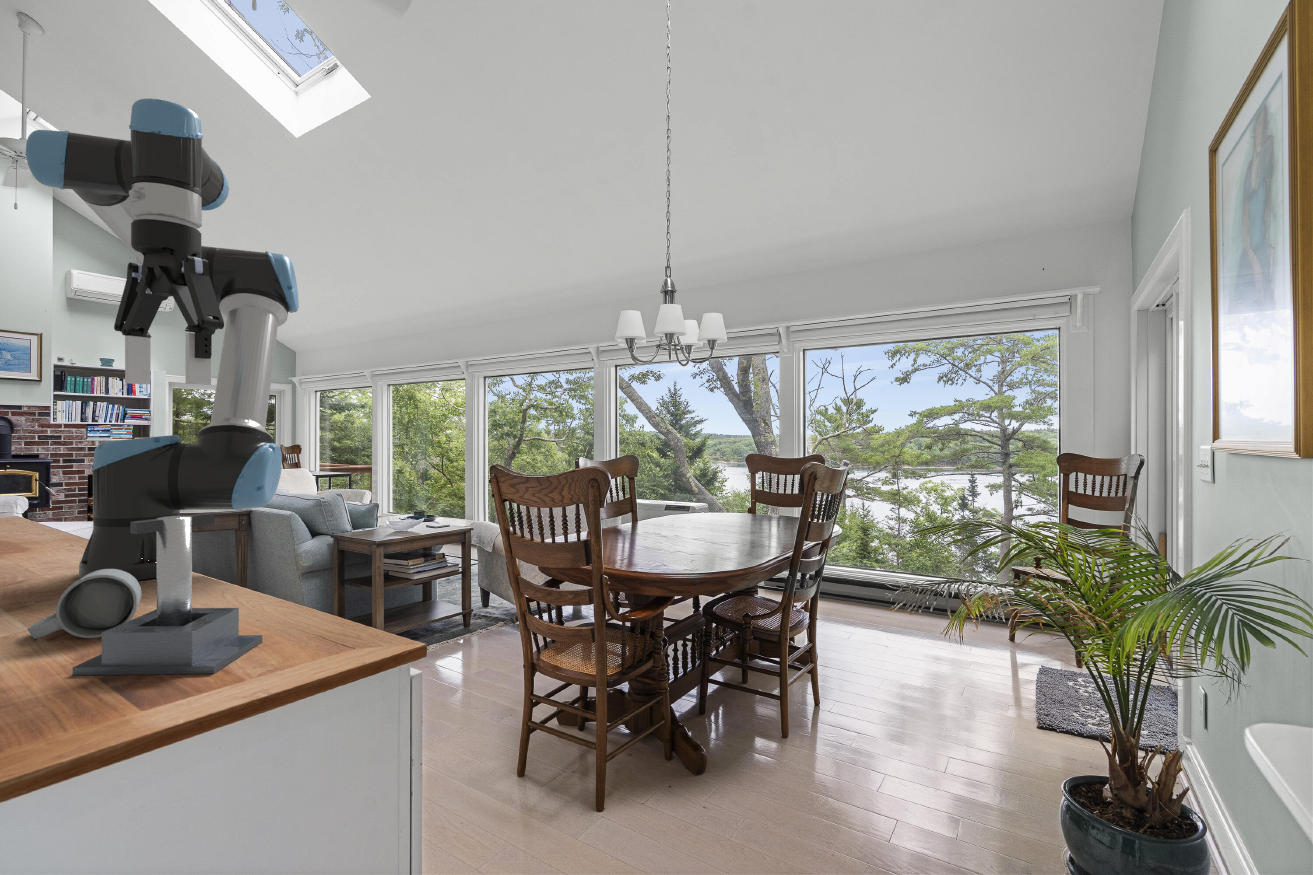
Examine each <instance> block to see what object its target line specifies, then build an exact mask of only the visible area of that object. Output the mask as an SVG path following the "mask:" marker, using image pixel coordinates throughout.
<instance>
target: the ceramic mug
mask: <svg viewBox="0 0 1313 875" xmlns="http://www.w3.org/2000/svg"><path fill="white" fill-rule="evenodd" d="M141 599H142V589H141V585H140V583H139V580H136V579H135V578H134V577H133V576H132V575H131V574H129V573H127V572H125V571H122V570H118V569H102V570H97V571H94V572H92V573H90V574H87V575H85V576H84V577H82V578H81V579H80V578H79V579H77V580H76V581H74V582H73V583H72V584H70V586H68V587H67V588H66V589H65V590H64V591H63V592H62V594H61V595H60V596H59V598H58V601H57V603H56V606H55V607H56V608H55V612H54V613H51V614H50V615H48V616H46V617H44V618H42V619H40V620H38V621H36V622H34V623H33V624H31V625H29V627H27V632H28V633H29V634H30V635H31V637H32V639H34V640H35V639H40V638H42V637H46V636H48V635H51V634H53V633H56V632H58V631H60V630H62V629H63V630H64V631H65V632H66V633H68V634H69V635H72V636H74V637H77V638H81V639H98V638H102V632H105V631H107V630H109V629H112V628H114V627H116V626H119V625H121V624H123V623H126V622H128V621H130V620H133V619H134V616H135V614H136V611H137V609H138V606H139V604H140V602H141Z"/></svg>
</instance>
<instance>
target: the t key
mask: <svg viewBox="0 0 1313 875" xmlns="http://www.w3.org/2000/svg"><path fill="white" fill-rule="evenodd" d="M215 516H216V515H215V513H212V512H211V513H210V512H206V513H198V514H190V515H189V514H188V515H180V516H167V517H160V518H157V519H152V520H144V521H135V522H130V533H133V534H142V533H149V532H157V578H156V609H157V626H185V625H187V624H189V623H191V622H192V608H193V531H192V530H193V527H202V526H208V525H215V524H216V523H215V522H216V521H215Z"/></svg>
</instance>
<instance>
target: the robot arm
mask: <svg viewBox="0 0 1313 875" xmlns="http://www.w3.org/2000/svg"><path fill="white" fill-rule="evenodd" d="M130 113H131V114H130V124H129V125H128V127H129V130H130V140H128V139H127V140H126V139H120V138H112V137H104V136H97V135H90V134H83V133H76V132H70V131H69V130H62V131H61V130H52V129H50V130H49V129H36V130H34V131H32V132H31V133H29V135H28V136H27V140H26V145H25V156H26V161H27V165H28V169H29V170H30V172H31V174H32V176H33V177H34V179H35V180H36V181H37V182H38V183H40V184H42V185H44V186H46V187H47V186H48V187H53V188H57V189H60V190H71V191H73V192H74V193H75V194H76V195H77V196H78V197H79V198H80V199H81V200H82V201H83V202H84V203H85V204H86V205H87V206H88V207H89V208H90V209H91V210H92V211H93V212H94V214H95V215H96V216H97V217H98V218H99V219H100V220H101V221H102V222H103V223H104V224H105V225H106V226H107V228H109V229H110V230H111V231H112V233H114V234H115V236H116V237H117V238H118V239H119V240H120V241H121V242H122V243H123V244H124V245H125V246H126V248H128V250H130V251H131V253H132V254H134V256H135V259H136V263H135V262H128V264H127V270H126V271H127V272H126V281H125V284H124V288H123V292H122V295H121V300H120V303H119V306H118V310H117V314H116V317H115V318H116V319H115V320H114V325H113V329H114V331H115V332H121V334H122V336H124V349H125V350H124V351H125V352H124V357H125V358H124V374H125V375H124V383H125V384H133V385H151V338H152V336H151V333H150V332H149V329H150V328H151V326H152V324H153V322H154V320H155V317H156V315H157V313H158V311H159V308H160V307H161V305H162V303H163V301H167V300H168V299H169V297H173V300H174V302H175V303H176V305H177V308H178V309H179V311H180V312H181V315H182V316H183V319H184V320H185V322H186V324H187V326H186V328H185V329H184V331H185V384H186V385H202V386H212V350H213V349H212V347H213V346H212V341H213V340H212V336H213V335H214V334H215V333H216V330H223V329H224V327H225V329H224V335H223V342H222V348H221V354H220V361H219V366H218V373H217V379H216V386H215V392H214V399H213V405H212V406H213V407H212V412H211V418H210V423H209V424H207V425H206V426H203V427H202V428H200V429H199V431H198V434H197V441H196V442H195V443H194V442H192V443H191V442H190V443H189V442H188V443H187V442H185V443H183V442H182V439H181V437H180V435H178V434H171V435H169V434H168V435H164V436H151V437H140V438H138V437H137V438H130V439H129V438H128V439H117V440H110V441H104V442H101V443H100V444H98V445H97V446H96V447H95V448H94V452H93V464H92V465H93V466H92V468H91V472H92V518H93V519H92V521H93V522H92V532H91V535H90V537H89V540H88V542H87V544H86V547H85V550H84V552H83V554H82V557H81V560H80V562H79V565H78V578H79V580H80V579H81V578H82V577H84V576H85V575H87V574H90V573H92V572H94V571H97V570H102V569H118V570H122V571H125V572H127V573H129V574H131V575H132V576H133V577H134V578H135V579H136V580H137V581H140V580H141V581H143V580H149V579H150V580H151V579H155V578H156V579H157V563H155V562H157V532H149V533H142V534H133V533H130V522H135V521H144V520H152V519H157V518H160V517H167V516H181V511H185V510H186V511H197V510H198V511H201V510H208V511H209V510H236V511H242V510H244V509H257V508H258V509H259V508H263V507H265V506H266V505H268V504H269V503H271V501H272V499H273V498H274V496H275V495H276V492H277V490H278V487H279V483H280V479H281V475H282V462H283V454H282V449H281V447H280V446H279V445H278V444H276V443H274V437H273V435H272V434H271V433H270V432H269V431H267V430H266V427H267V426H266V425H267V419H268V410H269V401H270V393H271V385H272V377H273V368H274V359H275V353H276V343H277V337H278V328H279V327H281V326H283V325H284V324H285V323H286V322H287V321H288V318H289V317H288V316H289V313H291V314H293V313H297V312H298V310H299V302H300V301H299V292H298V284H297V278H296V273H295V269H294V268H295V267H294V263H293V262H292V260H291V259H290V258H289V256H287V255H286V254H283V253H275V252H270V251H267V250H265V251H262V252H260V251H254V250H253V251H252V250H243V249H235V248H225V247H213V246H205V245H202V233H201V231H200V230H198V229H200V228H201V227H202V225H203V219H202V218H203V216H202V214H203V213H202V212H203V211H212V210H215V209H218V208H219V207H221V206H222V205H223V204H225V202H226V200H227V199H228V196H229V193H230V192H229V191H230V187H229V182H228V180H227V178H226V175H225V173H224V172H223V169H222V168H221V166H219V163H217V162H216V161H215V160H214V159H212V158H211V157H210V155H209V154H208V153H207V151H206V149H205V148H204V146H202V143H203V139H204V134H203V133H202V123H201V121H202V120H201V118H200V116H198V115H197V114H196V112H194V111H193V110H191V109H190V108H188V107H187V106H183V105H181V104H178V103H176V102H172V101H169V100H165V99H158V98H142V99H138V100H136V101H134V103H133V104H132V106H131V112H130ZM223 316H225V318H226V322H224V318H223ZM141 558H143V559H141ZM148 560H149V561H148Z"/></svg>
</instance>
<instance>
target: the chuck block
mask: <svg viewBox="0 0 1313 875" xmlns="http://www.w3.org/2000/svg"><path fill="white" fill-rule="evenodd" d="M239 610H240V608H239V607H192V622H191V623H189V624H187V625H185V626H157V608H156V609H154V610H152V611H148V612H147V613H145V614H142V615H140V616H138V617H135V618H132V619H131V620H130V621H128V622H126V623H123V624H121V625H119V626H116V627H114V628H112V629H109V630H107V631H105V632H102V637H101V654H98V655H96V656H94V657H92V658H90V659H88V660H86V661H84V662H81V663H79V664H77V665H75V666H73V667H72V669H71V670H72V676H121V675H123V676H124V675H126V676H127V675H130V676H131V675H134V676H135V675H139V676H140V675H210V674H211V675H213V674H214V675H215V674H216V673H217V672H218V671H220V670H222V669H223V668H224V667H227V666H229V665H230V664H231V663H233V662H234V661H236V660H237V659H239V658H240V657H242V656H243V655H245V654H246V653H248V652H249V651H251V650H252V649H255V647H256V646H257V647H258V645H260V644H261V643H263V634H262V635H260V634H257V635H256V634H255V635H254V634H251V635H249V634H248V635H247V634H245V635H239V632H240V630H239V628H240V627H239V626H240V625H239V623H240V622H239V620H240V615H239V614H240V611H239Z"/></svg>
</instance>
